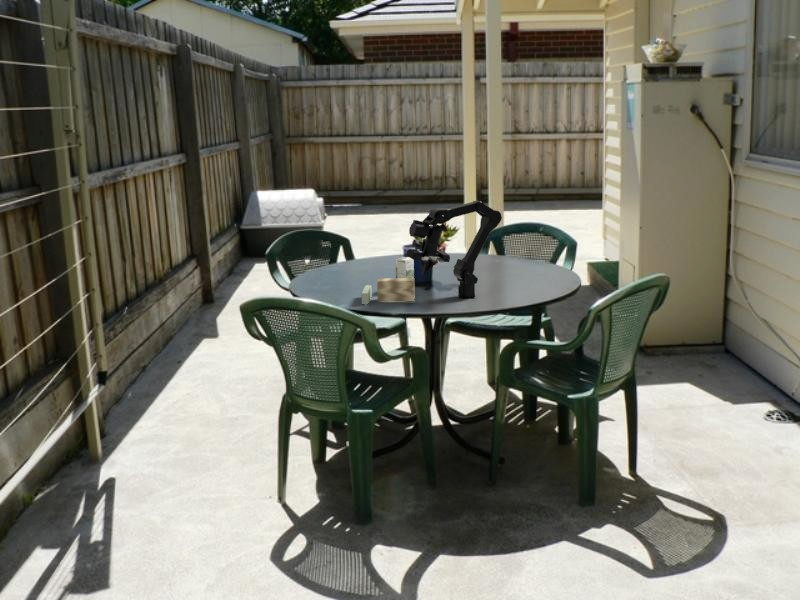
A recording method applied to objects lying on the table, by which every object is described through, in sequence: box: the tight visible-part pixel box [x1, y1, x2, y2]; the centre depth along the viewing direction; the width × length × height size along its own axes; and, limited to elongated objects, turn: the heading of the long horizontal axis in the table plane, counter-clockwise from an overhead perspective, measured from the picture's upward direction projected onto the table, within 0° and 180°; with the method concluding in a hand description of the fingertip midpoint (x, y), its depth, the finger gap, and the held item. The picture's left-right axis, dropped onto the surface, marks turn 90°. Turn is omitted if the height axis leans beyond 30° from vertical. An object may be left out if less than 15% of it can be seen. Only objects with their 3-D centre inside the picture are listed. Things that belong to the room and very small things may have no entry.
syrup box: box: [395, 256, 415, 279], centre depth 378 cm, size 6×6×14 cm
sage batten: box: [361, 284, 373, 305], centre depth 362 cm, size 2×16×5 cm, turn 176°
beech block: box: [376, 277, 416, 302], centre depth 360 cm, size 15×6×9 cm, turn 86°
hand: (423, 274), depth 359 cm, fingers closed
